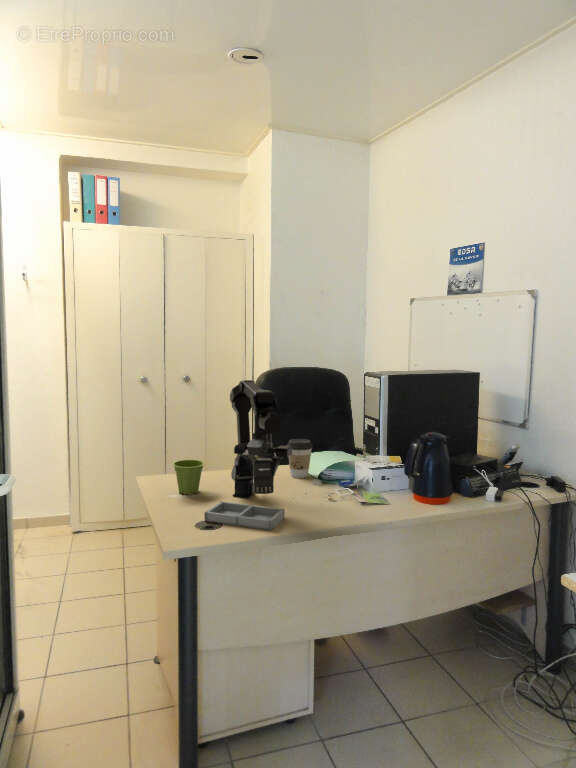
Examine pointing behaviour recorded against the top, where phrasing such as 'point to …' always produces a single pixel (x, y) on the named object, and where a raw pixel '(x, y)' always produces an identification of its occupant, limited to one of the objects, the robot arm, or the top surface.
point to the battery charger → (263, 476)
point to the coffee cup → (300, 457)
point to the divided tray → (245, 515)
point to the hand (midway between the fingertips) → (263, 475)
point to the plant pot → (188, 475)
